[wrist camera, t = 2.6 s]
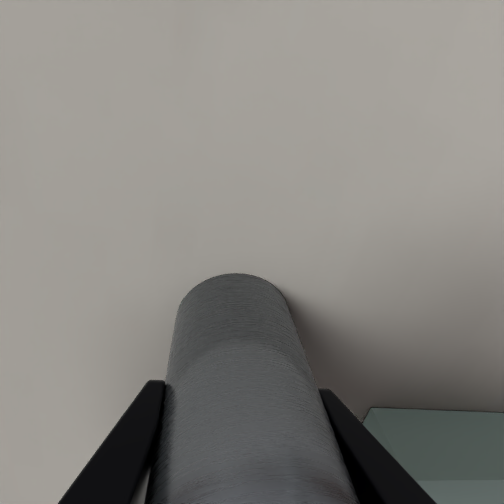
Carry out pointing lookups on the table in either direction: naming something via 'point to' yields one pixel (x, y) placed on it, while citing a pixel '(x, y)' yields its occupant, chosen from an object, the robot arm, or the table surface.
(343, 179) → the table surface
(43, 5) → the table surface
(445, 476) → the socket block
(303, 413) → the peg
